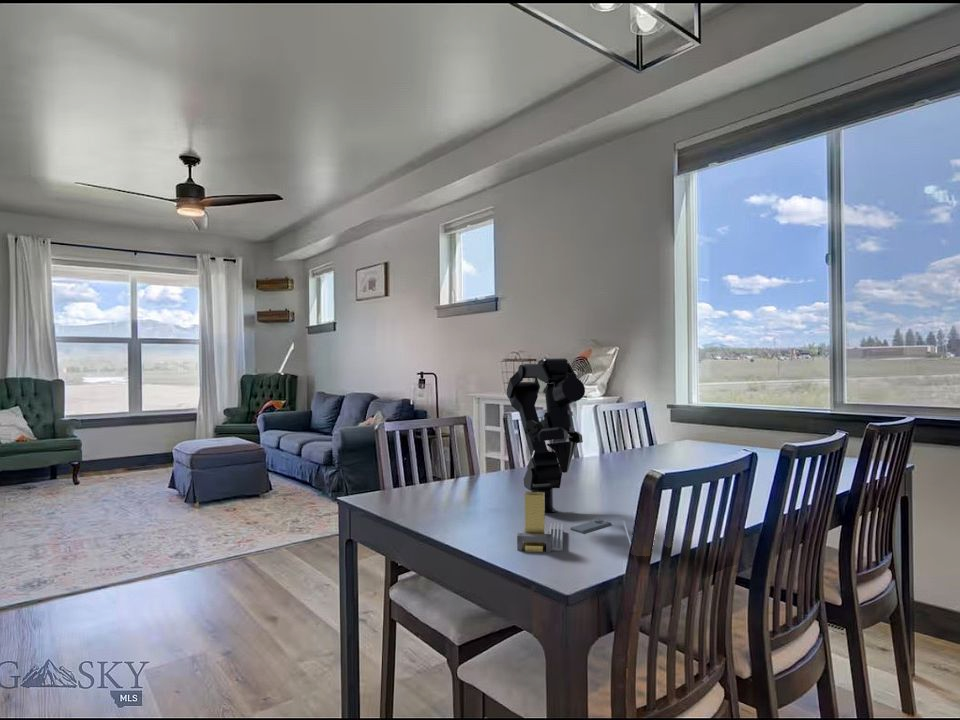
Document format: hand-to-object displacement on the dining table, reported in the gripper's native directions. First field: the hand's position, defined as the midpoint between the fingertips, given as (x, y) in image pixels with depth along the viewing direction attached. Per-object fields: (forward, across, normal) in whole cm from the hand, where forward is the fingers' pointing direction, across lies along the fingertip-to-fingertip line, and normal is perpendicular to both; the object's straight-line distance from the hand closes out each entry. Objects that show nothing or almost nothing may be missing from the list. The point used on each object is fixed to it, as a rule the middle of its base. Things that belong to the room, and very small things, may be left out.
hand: (565, 472), depth 140 cm
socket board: (+15, +12, -5) cm, 20 cm away
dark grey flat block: (+15, -2, +4) cm, 15 cm away
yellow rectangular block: (+15, +16, -4) cm, 23 cm away
